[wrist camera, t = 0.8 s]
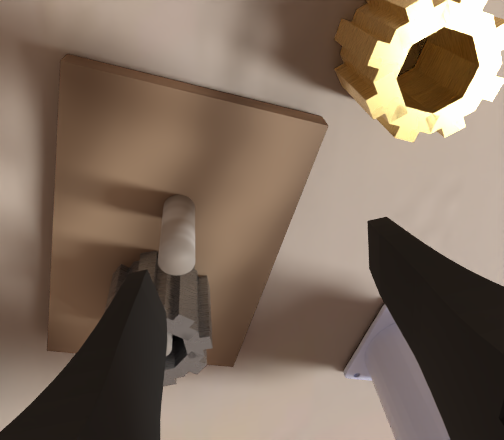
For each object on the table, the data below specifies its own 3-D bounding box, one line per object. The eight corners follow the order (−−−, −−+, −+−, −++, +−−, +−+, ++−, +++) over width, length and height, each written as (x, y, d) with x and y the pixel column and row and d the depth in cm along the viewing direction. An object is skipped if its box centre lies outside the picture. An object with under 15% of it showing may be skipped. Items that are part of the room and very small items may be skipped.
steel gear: (199, 243, 24) (201, 302, 20) (216, 314, 27) (220, 376, 23) (97, 260, 23) (79, 322, 20) (126, 329, 27) (115, 394, 23)
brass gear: (475, -2, 19) (542, 15, 16) (416, 116, 22) (461, 154, 18) (363, -42, 18) (408, -34, 14) (315, 89, 21) (342, 124, 17)
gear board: (322, 116, 22) (356, 167, 17) (231, 352, 31) (238, 426, 26) (67, 53, 19) (27, 94, 14) (51, 335, 28) (24, 415, 23)
